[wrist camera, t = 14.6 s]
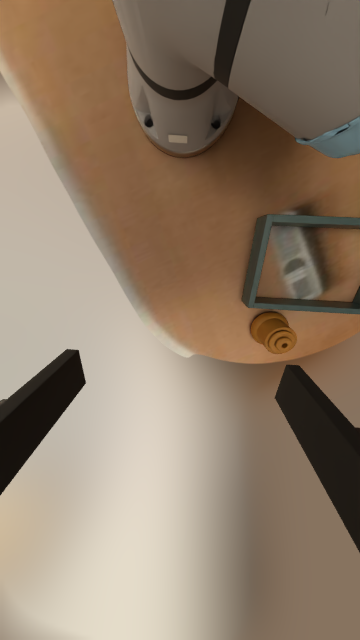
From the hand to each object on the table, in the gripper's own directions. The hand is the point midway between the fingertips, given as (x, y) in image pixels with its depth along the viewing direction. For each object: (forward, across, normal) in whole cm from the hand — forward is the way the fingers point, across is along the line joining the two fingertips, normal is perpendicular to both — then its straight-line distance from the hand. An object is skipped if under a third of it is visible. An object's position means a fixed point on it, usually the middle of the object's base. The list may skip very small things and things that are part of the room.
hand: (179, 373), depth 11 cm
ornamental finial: (+27, +18, -8) cm, 33 cm away
